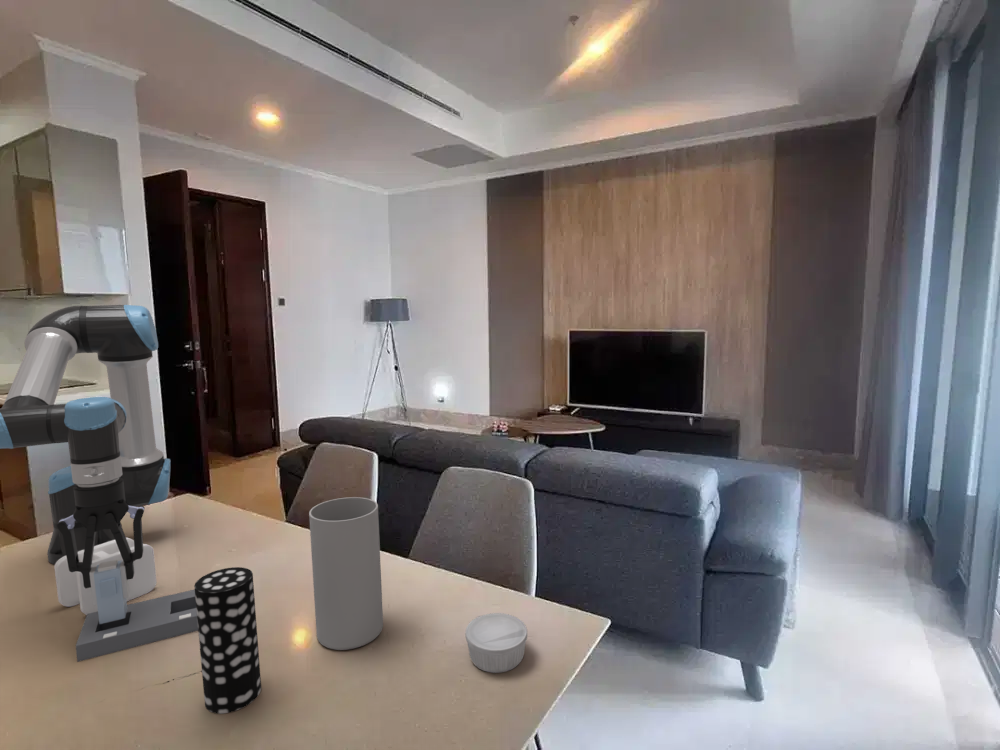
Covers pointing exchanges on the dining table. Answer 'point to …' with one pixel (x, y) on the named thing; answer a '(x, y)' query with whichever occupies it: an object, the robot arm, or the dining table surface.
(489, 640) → the ramekin
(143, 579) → the cable organizer
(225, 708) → the spotted tube
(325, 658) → the dining table surface
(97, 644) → the socket panel
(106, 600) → the plug
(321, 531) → the cylinder vase
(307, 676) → the dining table surface
